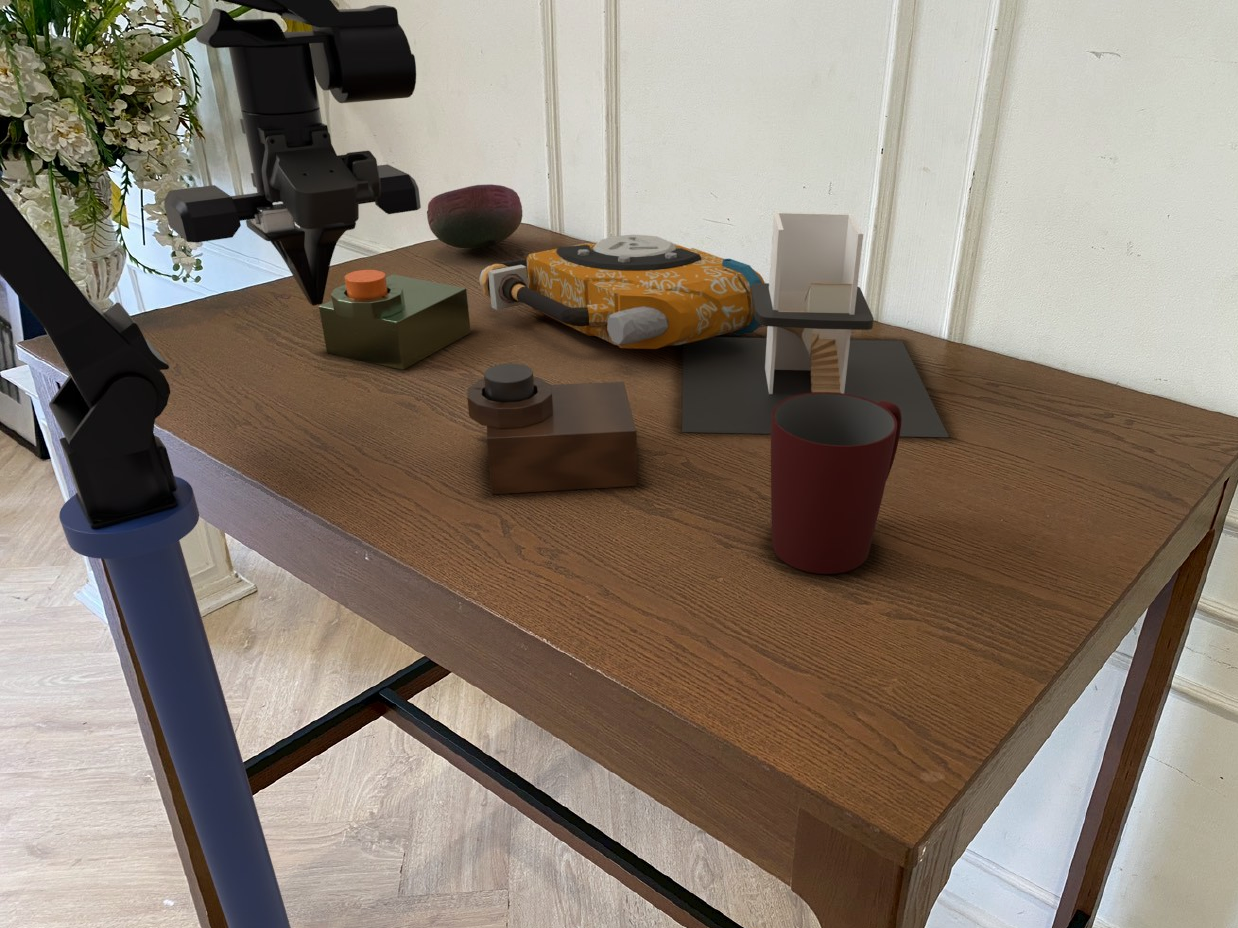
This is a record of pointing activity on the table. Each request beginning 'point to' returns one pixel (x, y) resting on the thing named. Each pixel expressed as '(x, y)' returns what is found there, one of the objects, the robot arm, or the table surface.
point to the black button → (509, 383)
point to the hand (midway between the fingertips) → (315, 303)
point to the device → (630, 290)
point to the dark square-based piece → (803, 340)
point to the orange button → (366, 284)
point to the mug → (829, 477)
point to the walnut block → (558, 437)
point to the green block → (395, 322)
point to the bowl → (475, 215)
